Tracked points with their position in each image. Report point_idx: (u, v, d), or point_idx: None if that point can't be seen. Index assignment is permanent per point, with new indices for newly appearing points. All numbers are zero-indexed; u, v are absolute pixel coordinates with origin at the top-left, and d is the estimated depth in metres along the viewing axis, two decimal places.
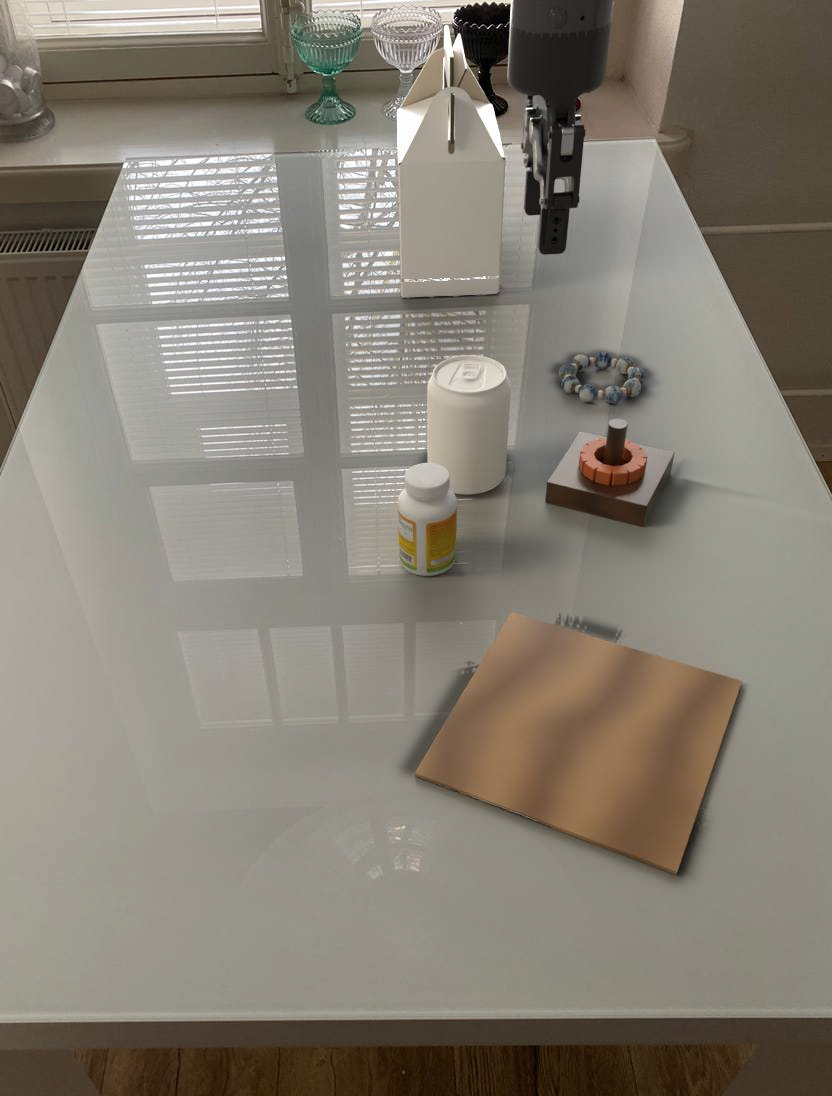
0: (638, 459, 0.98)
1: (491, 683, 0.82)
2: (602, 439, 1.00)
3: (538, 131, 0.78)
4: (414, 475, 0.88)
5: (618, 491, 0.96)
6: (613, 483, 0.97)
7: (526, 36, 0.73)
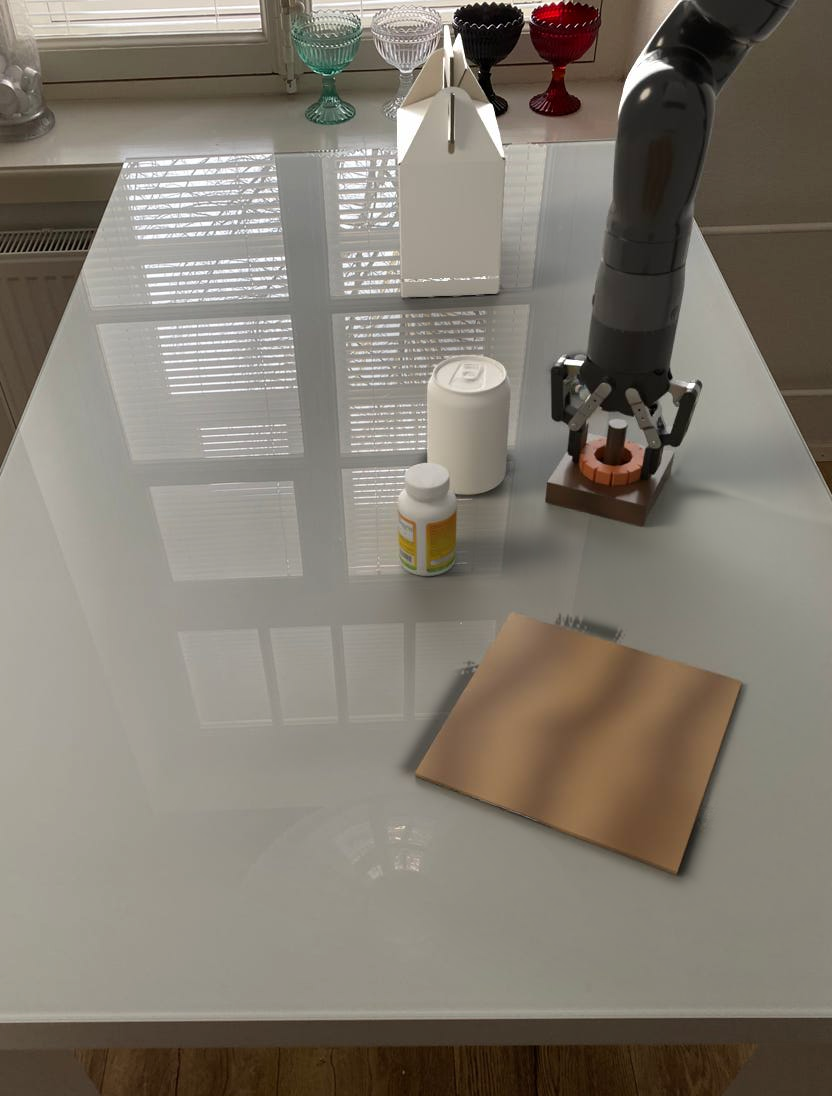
0: (638, 459, 0.98)
1: (491, 683, 0.82)
2: (602, 439, 1.00)
3: (642, 394, 0.91)
4: (414, 475, 0.88)
5: (618, 491, 0.96)
6: (613, 483, 0.97)
7: (652, 334, 0.85)
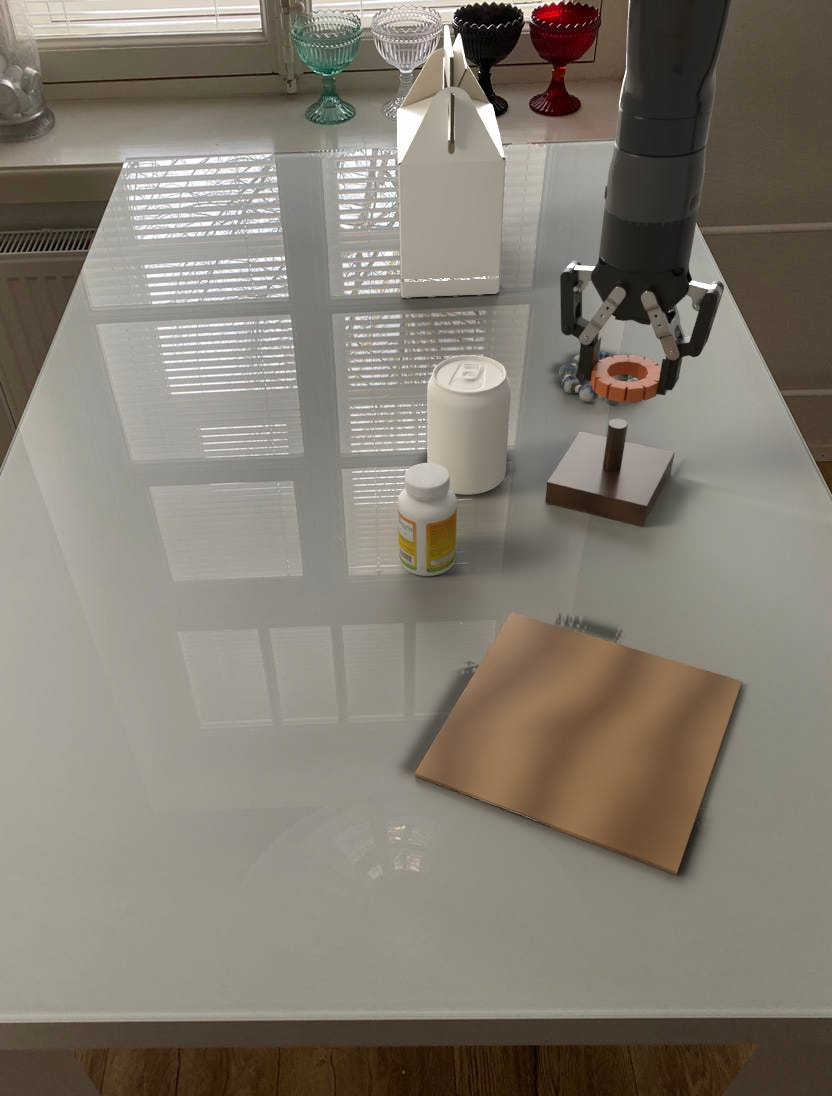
0: (654, 375, 0.91)
1: (491, 683, 0.82)
2: (615, 356, 0.94)
3: (659, 298, 0.85)
4: (414, 475, 0.88)
5: (618, 491, 0.96)
6: (628, 400, 0.90)
7: (670, 226, 0.79)
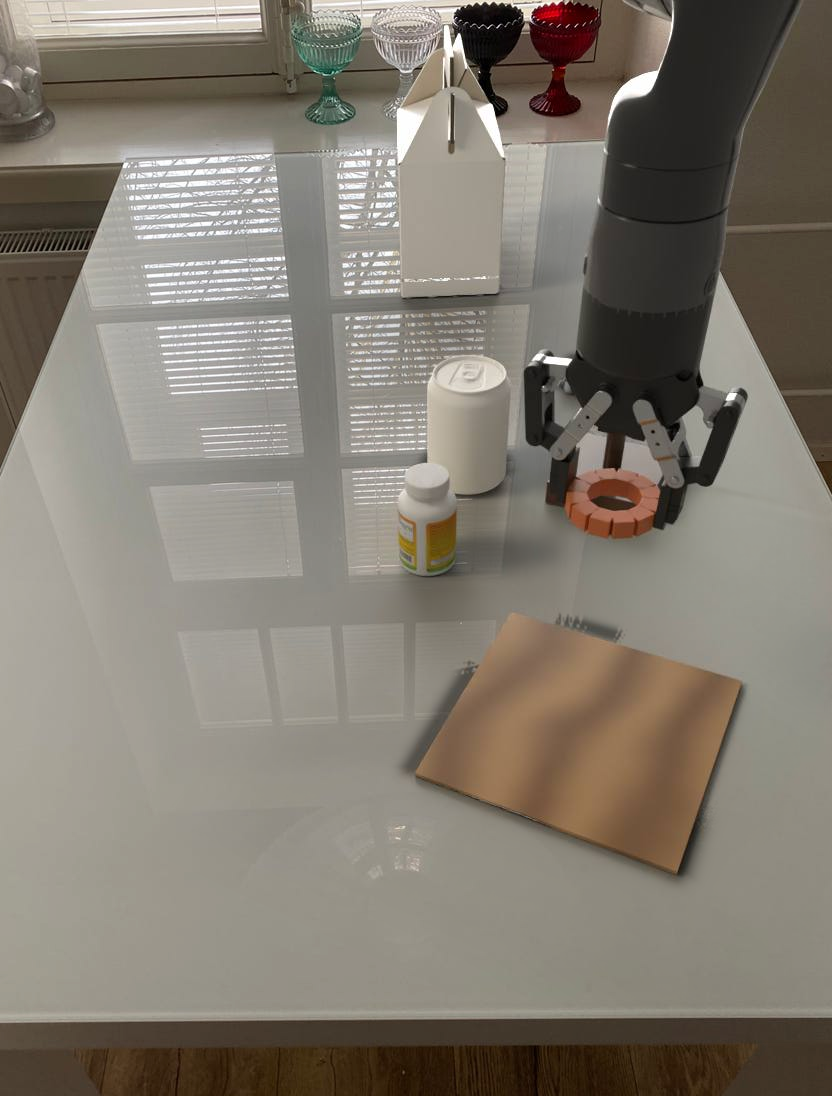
0: (650, 501, 0.68)
1: (491, 683, 0.82)
2: (599, 471, 0.71)
3: (657, 409, 0.61)
4: (414, 475, 0.88)
5: None
6: (614, 536, 0.67)
7: (675, 317, 0.56)
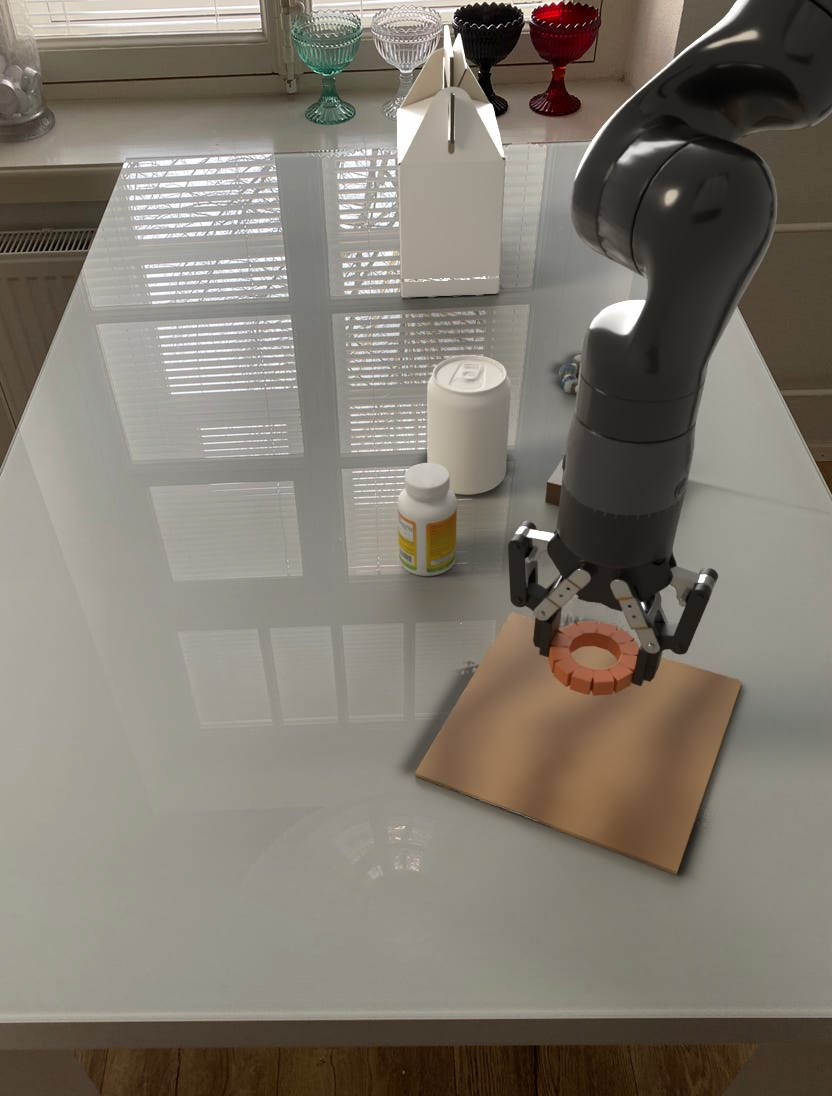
0: (629, 658, 0.71)
1: (491, 683, 0.82)
2: (580, 623, 0.74)
3: (633, 587, 0.65)
4: (414, 475, 0.88)
5: None
6: (594, 693, 0.71)
7: (647, 518, 0.59)
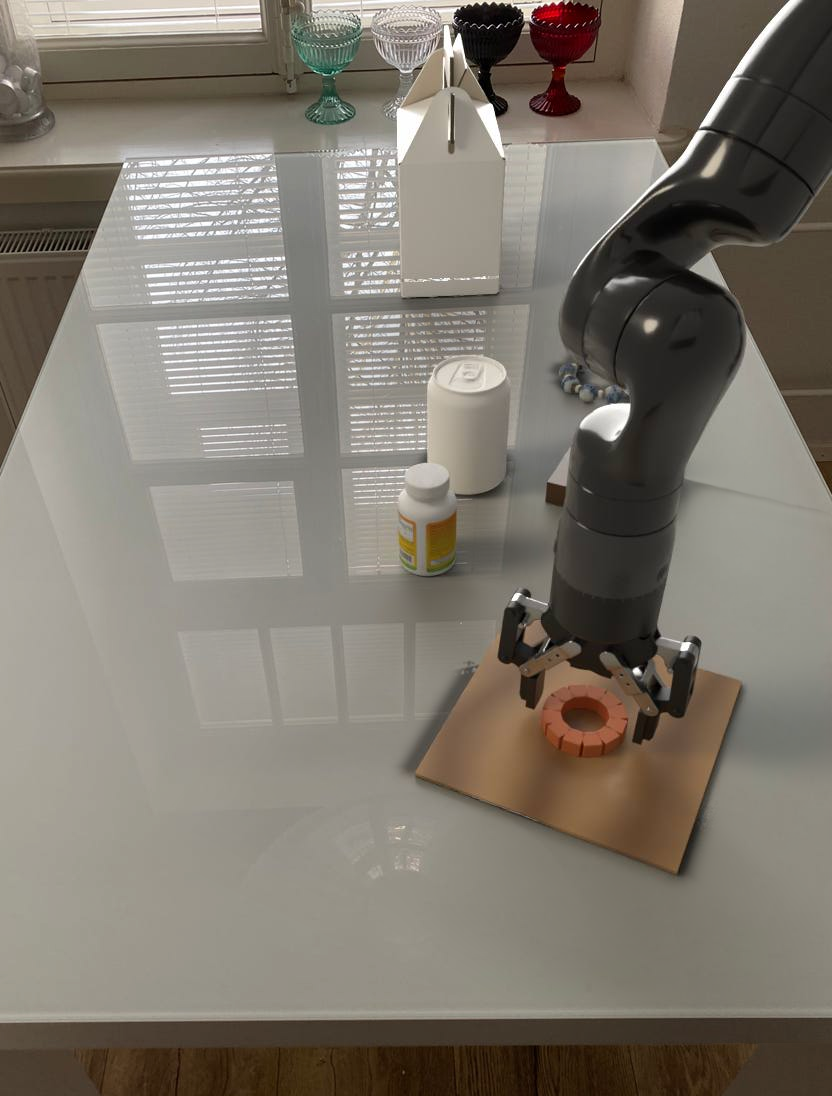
0: (616, 722, 0.76)
1: (491, 683, 0.82)
2: (571, 687, 0.79)
3: (621, 658, 0.70)
4: (414, 475, 0.88)
5: None
6: (584, 755, 0.76)
7: (632, 601, 0.64)
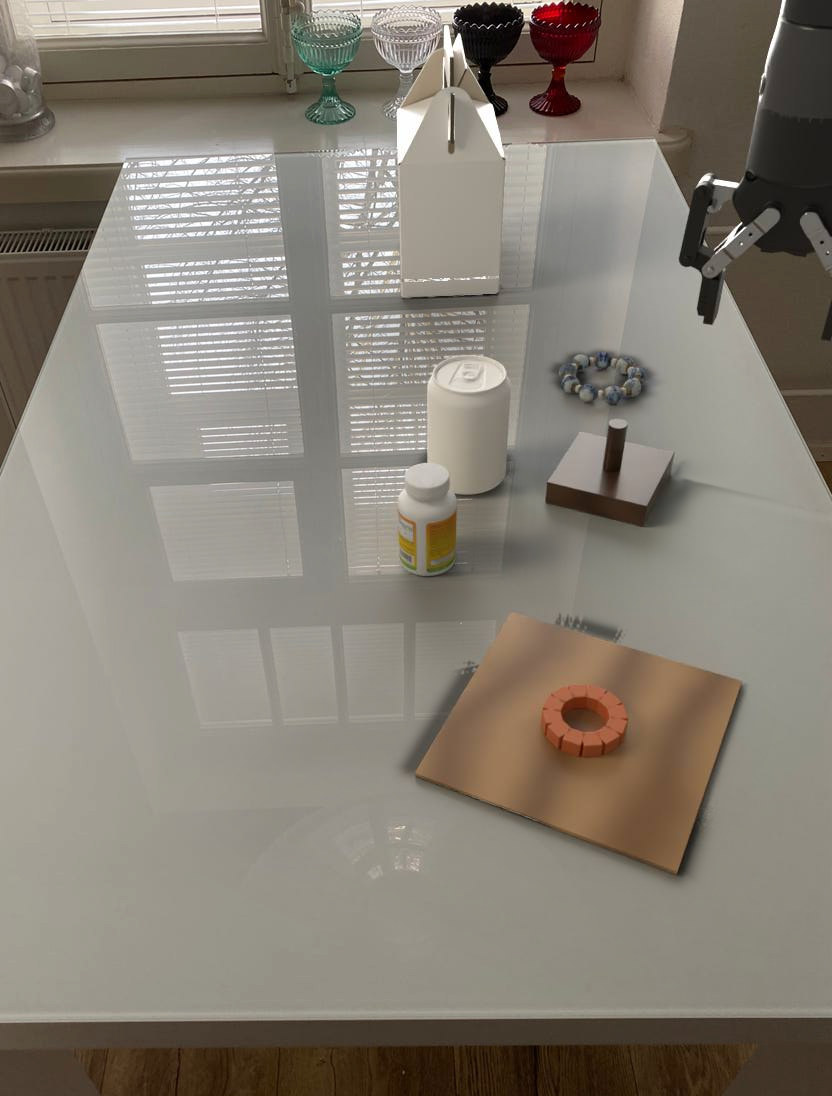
0: (616, 722, 0.76)
1: (491, 683, 0.82)
2: (571, 687, 0.79)
3: (823, 221, 0.68)
4: (414, 475, 0.88)
5: (618, 491, 0.96)
6: (584, 755, 0.76)
7: None
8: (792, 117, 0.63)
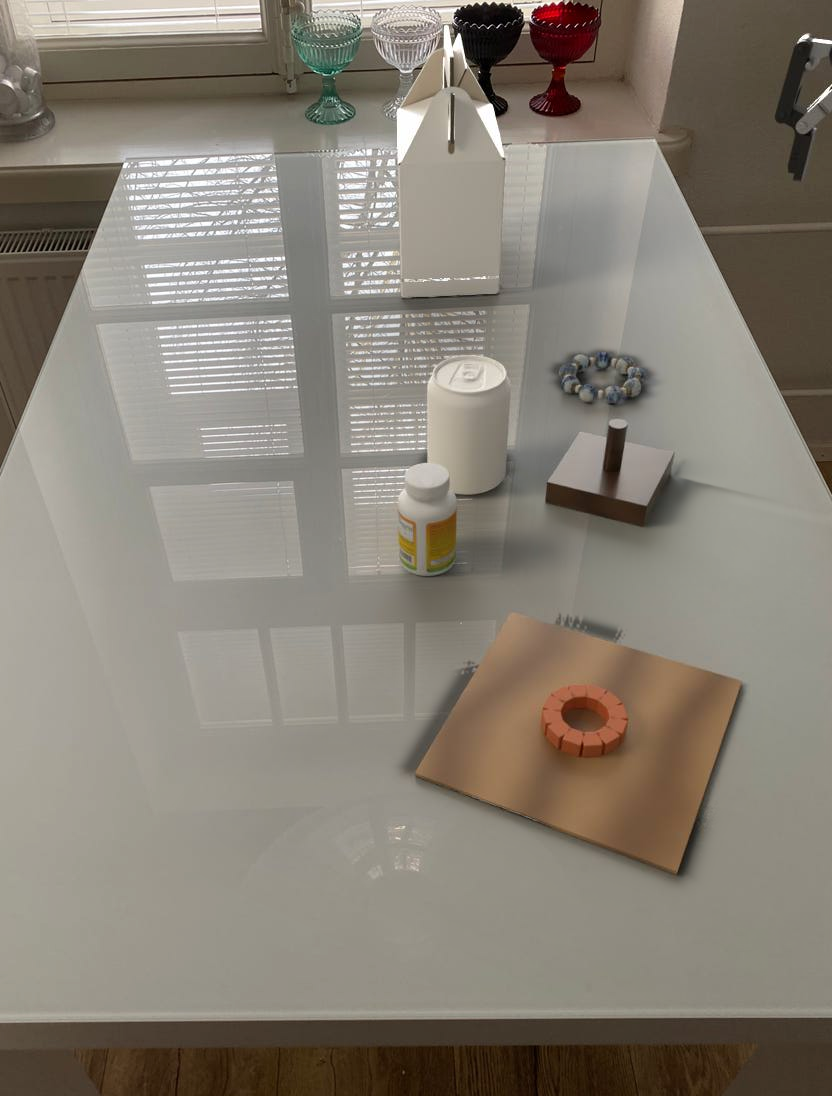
0: (616, 722, 0.76)
1: (491, 683, 0.82)
2: (571, 687, 0.79)
3: None
4: (414, 475, 0.88)
5: (618, 491, 0.96)
6: (584, 755, 0.76)
7: None
8: None
